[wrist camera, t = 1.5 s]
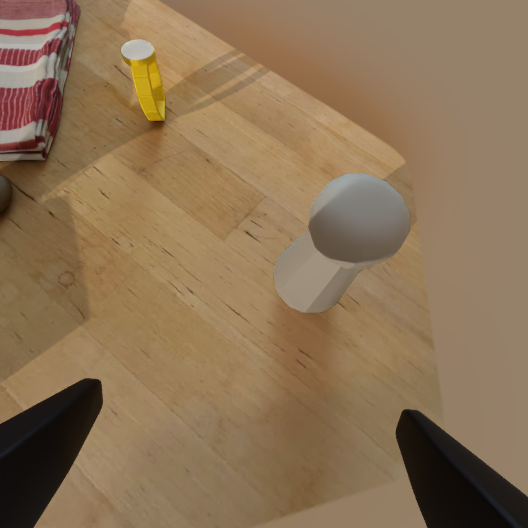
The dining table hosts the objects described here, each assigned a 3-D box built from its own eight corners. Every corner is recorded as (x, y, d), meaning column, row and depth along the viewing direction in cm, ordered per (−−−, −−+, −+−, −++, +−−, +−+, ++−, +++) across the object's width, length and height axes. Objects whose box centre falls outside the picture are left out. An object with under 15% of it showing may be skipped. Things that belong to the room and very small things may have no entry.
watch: (172, 132, 27) (153, 75, 22) (145, 133, 27) (118, 75, 21) (171, 89, 29) (154, 27, 24) (146, 90, 29) (122, 27, 23)
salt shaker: (257, 279, 23) (269, 194, 11) (304, 241, 24) (363, 127, 12) (302, 331, 22) (376, 305, 9) (349, 288, 23) (466, 216, 11)
